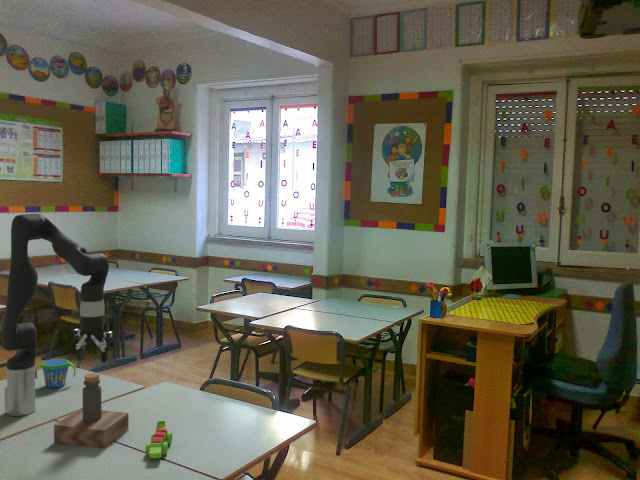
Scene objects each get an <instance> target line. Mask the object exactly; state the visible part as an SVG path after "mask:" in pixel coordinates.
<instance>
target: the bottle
mask: <svg viewBox="0 0 640 480" xmlns="http://www.w3.org/2000/svg"><path fill="white" fill-rule="evenodd" d="M83 377H84V381H83V385H84V387H83V388H82V408H83V421H85V422H94V421H97V420H100V419H101V410H102V387H101V385H100V384H101V380H100V374H99V373H96V372H94V373H87V374H85V375H84V376H83Z"/></svg>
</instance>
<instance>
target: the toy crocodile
mask: <svg viewBox="0 0 640 480" xmlns="http://www.w3.org/2000/svg"><path fill="white" fill-rule="evenodd" d="M172 443H173V432H172V431H168V429H167V425H166V421H165V420H159V421H158V422H157V423H156V428H155V432H152V434H151V439H150V442H147V443H145V451H144V452H145V456H148V457H149V459H161V457H162V455H168V450H169V449H168V448H169V446H168V445H172Z"/></svg>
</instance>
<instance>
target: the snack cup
mask: <svg viewBox="0 0 640 480" xmlns="http://www.w3.org/2000/svg"><path fill="white" fill-rule="evenodd" d="M69 366H71V367H72V369H73V370H74V371H73V378H75V376H76V373H77V372H76V371H77V369H76V366H75V364H74V363H72V361H69V360H68V359H64V358H53V359H48V360H45V361H43V362H42V363H40V364H39V365H38V366H36V367H35V380H38V369H39V368H40V367H41V368H42V370H43V378H44V383H45V384H44V385H45V386H46V388H49V389H53V388H54V389H56V388H61V387H63V386H65V385H66V381H67V374H68V370H69V368H70V367H69Z"/></svg>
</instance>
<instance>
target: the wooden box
mask: <svg viewBox="0 0 640 480" xmlns="http://www.w3.org/2000/svg"><path fill="white" fill-rule="evenodd" d="M128 431H129V412H125V411H124V412H123V411H115V410H106V409H105V410H104V409H101V419H100V420H97V421H94V422H85V421H83V407H81V408H79V409H77V410H76V411H75V412H73V413H71V414H70V415H68V416H67V417H65V418H63V419H61V420H59V421H58V422H57V423H54V425H53V443H55V444H60V445H61V444H63V445H71V446H79V447H88V448H98V449H106V448H107V447H108V446H109V445H111V444H112V443H114V442H115V441H116V440H117V439H118V438H120V437H121V436H122V435H123V434H125V433H126V432H128Z"/></svg>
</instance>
